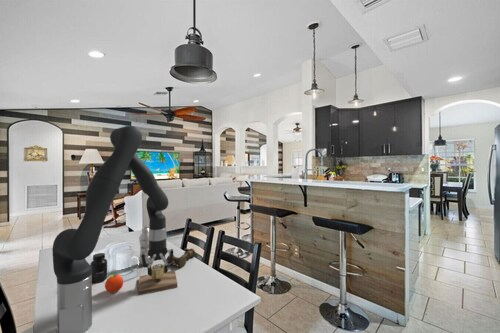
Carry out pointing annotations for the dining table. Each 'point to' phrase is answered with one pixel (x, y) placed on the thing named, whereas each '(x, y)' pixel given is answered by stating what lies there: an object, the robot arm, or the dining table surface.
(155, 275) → the brass ring
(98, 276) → the supplement bottle
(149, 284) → the walnut base plate
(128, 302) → the dining table surface
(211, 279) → the dining table surface
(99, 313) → the dining table surface
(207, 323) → the dining table surface
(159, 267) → the steel post
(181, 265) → the kendama
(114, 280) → the clementine
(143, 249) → the plastic bottle
